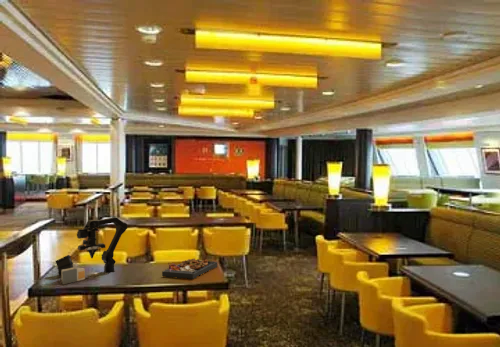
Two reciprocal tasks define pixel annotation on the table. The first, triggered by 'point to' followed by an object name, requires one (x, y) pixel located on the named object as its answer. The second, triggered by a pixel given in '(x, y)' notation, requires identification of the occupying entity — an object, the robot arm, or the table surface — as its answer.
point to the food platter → (189, 268)
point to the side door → (70, 275)
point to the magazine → (64, 264)
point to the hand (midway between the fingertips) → (91, 258)
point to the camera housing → (78, 273)
